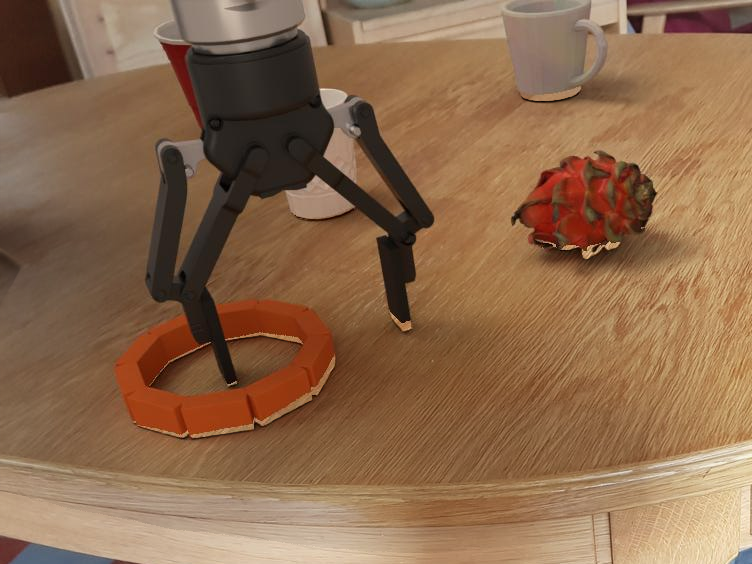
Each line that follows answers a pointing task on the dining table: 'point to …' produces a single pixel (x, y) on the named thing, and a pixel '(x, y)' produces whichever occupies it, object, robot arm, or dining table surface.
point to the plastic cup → (178, 60)
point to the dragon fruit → (587, 203)
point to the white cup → (342, 155)
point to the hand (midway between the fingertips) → (317, 350)
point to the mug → (551, 44)
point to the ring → (229, 405)
